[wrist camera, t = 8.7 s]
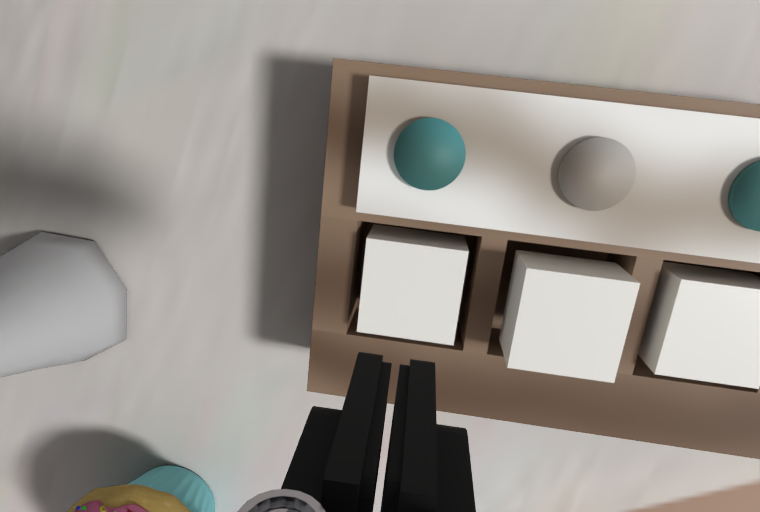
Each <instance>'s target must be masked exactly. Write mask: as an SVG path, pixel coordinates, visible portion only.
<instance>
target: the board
mask: <svg viewBox="0 0 760 512" xmlns="http://www.w3.org/2000/svg"><path fill="white" fill-rule="evenodd" d="M374 224H375V225H383V226H391V227H399V228H406V229H414V230H422V231H430V232H438V233H445V234H453V235H461V236H465V239H466V242H467V246H468V250H469V254H468V260H467V266H466V272H465V278H464V284H463V290H462V297H461V303H460V309H459V315H458V321H457V327H456V333H455V340H454V346H453V345H446V344H439V343H432V342H425V341H418V340H411V339H404V338H397V337H390V336H383V335H376V334H369V333H362V332H357V324H358V314H359V305H360V295H361V286H362V276H363V267H364V257H365V248H366V238H367V236H368V234H369V232H370V230H371V229H372V227H373V225H374ZM516 250H522V251H529V252H537V253H545V254H553V255H560V256H568V257H576V258H583V259H591V260H599V261H607V262H614V263H617V264H618V265H619V266H620V267H622V268H623V269H624V270H625V271H626V272H628V273H629V274H630V275H631V276H632V277H634V278H635V279H636V280H637V281H638V282H640V286H639V290H638V294H637V298H636V302H635V305H634V309H633V313H632V317H631V321H630V325H629V328H628V332H627V336H626V340H625V344H624V347H623V351H622V355H621V359H620V363H619V367H618V370H617V374H616V378H615V382H614V383H610V382H603V381H596V380H589V379H582V378H575V377H568V376H561V375H554V374H547V373H540V372H533V371H526V370H519V369H512V368H507V365H506V362H505V358H504V355H503V351H502V348H501V344H500V341H499V336H500V331H501V326H502V320H503V315H504V310H505V305H506V299H507V294H508V289H509V283H510V278H511V273H512V267H513V262H514V257H515V251H516ZM663 262H670V263H678V264H686V265H693V266H701V267H709V268H717V269H725V270H732V271H740V272H748V273H752V274H754V275H756V276H758V277H760V105H758V104H749V103H739V102H730V101H721V100H712V99H703V98H694V97H684V96H675V95H666V94H657V93H648V92H639V91H629V90H620V89H611V88H602V87H593V86H583V85H574V84H565V83H556V82H547V81H538V80H528V79H519V78H510V77H501V76H492V75H483V74H473V73H464V72H455V71H446V70H437V69H428V68H418V67H409V66H400V65H391V64H382V63H373V62H363V61H354V60H345V59H336V58H333V70H332V82H331V95H330V108H329V120H328V133H327V145H326V158H325V170H324V183H323V195H322V208H321V221H320V233H319V246H318V258H317V271H316V283H315V296H314V309H313V321H312V334H311V346H310V359H309V371H308V384H307V391H310V392H317V393H323V394H330V395H337V396H343V397H346V395H347V391H348V388H349V384H350V380H351V377H352V373H353V370H354V366H355V363H356V359H357V355H358V352H364V353H372V354H379V355H383V362H388V363H392V367H391V375H390V382H389V390H388V398H387V403H390V404H395V397H396V389H397V382H398V374H399V367H400V364H402V365H409V364H410V359H414V360H421V361H428V362H435V374H436V410H437V411H443V412H450V413H457V414H463V415H470V416H476V417H483V418H490V419H496V420H503V421H510V422H516V423H523V424H530V425H536V426H543V427H550V428H556V429H563V430H570V431H576V432H583V433H590V434H596V435H603V436H610V437H616V438H623V439H629V440H636V441H643V442H649V443H656V444H663V445H669V446H676V447H683V448H689V449H696V450H703V451H709V452H716V453H723V454H729V455H736V456H743V457H749V458H756V459H760V386H759V389H755V388H748V387H741V386H734V385H727V384H720V383H713V382H706V381H699V380H692V379H685V378H678V377H671V376H664V375H657V374H654V373H653V372H652V371H651V369H650V368H649V367H648V366H647V365H646V364H645V362H644V361H643V360H642V359H641V358H640V356H639V355H638V352H639V348H640V344H641V341H642V337H643V333H644V330H645V326H646V322H647V318H648V315H649V311H650V307H651V304H652V300H653V296H654V293H655V289H656V285H657V282H658V278H659V274H660V271H661V267H662V263H663Z"/></svg>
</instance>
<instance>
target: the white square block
mask: <svg viewBox="0 0 760 512" xmlns="http://www.w3.org/2000/svg"><path fill="white" fill-rule="evenodd" d="M638 355H639V356H640V358H641V359H642V360H643V361H644V362H645V364H646V365H647V366H648V367H649V368H650V369H651V371H652V372H653V373H654V374H657V375H664V376H671V377H678V378H685V379H692V380H699V381H706V382H713V383H720V384H727V385H734V386H741V387H748V388H755V389H759V386H760V277H758V276H756V275H754V274H752V273H748V272H740V271H732V270H725V269H717V268H709V267H701V266H693V265H686V264H678V263H670V262H663V263H662V267H661V271H660V274H659V278H658V282H657V285H656V289H655V293H654V296H653V300H652V304H651V307H650V311H649V315H648V318H647V322H646V326H645V330H644V333H643V337H642V341H641V344H640V348H639V352H638Z"/></svg>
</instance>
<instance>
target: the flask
mask: <svg viewBox="0 0 760 512" xmlns="http://www.w3.org/2000/svg"><path fill="white" fill-rule="evenodd" d="M126 326H127V288H126V287H125V285H124V284H123V282H122V281H121V279H120V278H119V276H118V275H117V273H116V272H115V270H114V269H113V267H112V266H111V264H110V263H109V261H108V260H107V258H106V257H105V255H104V254H103V252H102V251H101V249H100V248H99V246H98V245H97V243H96V242H95V241H90V240H85V239H79V238H73V237H68V236H62V235H56V234H51V233H45V232H40V233H39V234H37V235H35V236H34V237H32V238H30V239H28V240H27V241H25V242H23V243H22V244H20V245H18V246H17V247H15V248H13V249H12V250H10V251H8V252H7V253H5V254H3V255H2V256H0V378H1V377H5V376H10V375H14V374H19V373H23V372H28V371H32V370H37V369H42V368H48V367H54V366H59V365H65V364H70V363H75V362H80V361H84V360H87V359H89V358H91V357H93V356H95V355H97V354H98V353H100V352H102V351H104V350H106V349H108V348H110V347H112V346H114V345H116V344H118V343H120V342H122V341H124V340H126Z"/></svg>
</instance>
